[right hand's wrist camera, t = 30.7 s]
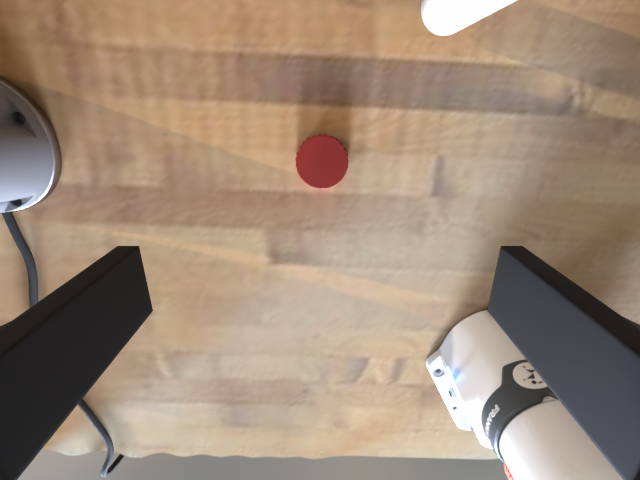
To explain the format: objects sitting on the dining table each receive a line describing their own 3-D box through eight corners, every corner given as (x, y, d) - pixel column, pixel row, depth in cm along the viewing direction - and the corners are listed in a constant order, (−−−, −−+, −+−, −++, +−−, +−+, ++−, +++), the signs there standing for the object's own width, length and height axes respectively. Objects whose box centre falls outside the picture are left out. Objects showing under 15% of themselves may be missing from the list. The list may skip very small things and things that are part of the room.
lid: (290, 176, 40) (288, 179, 39) (305, 126, 38) (304, 127, 37) (337, 192, 41) (337, 195, 39) (354, 143, 39) (356, 145, 37)
